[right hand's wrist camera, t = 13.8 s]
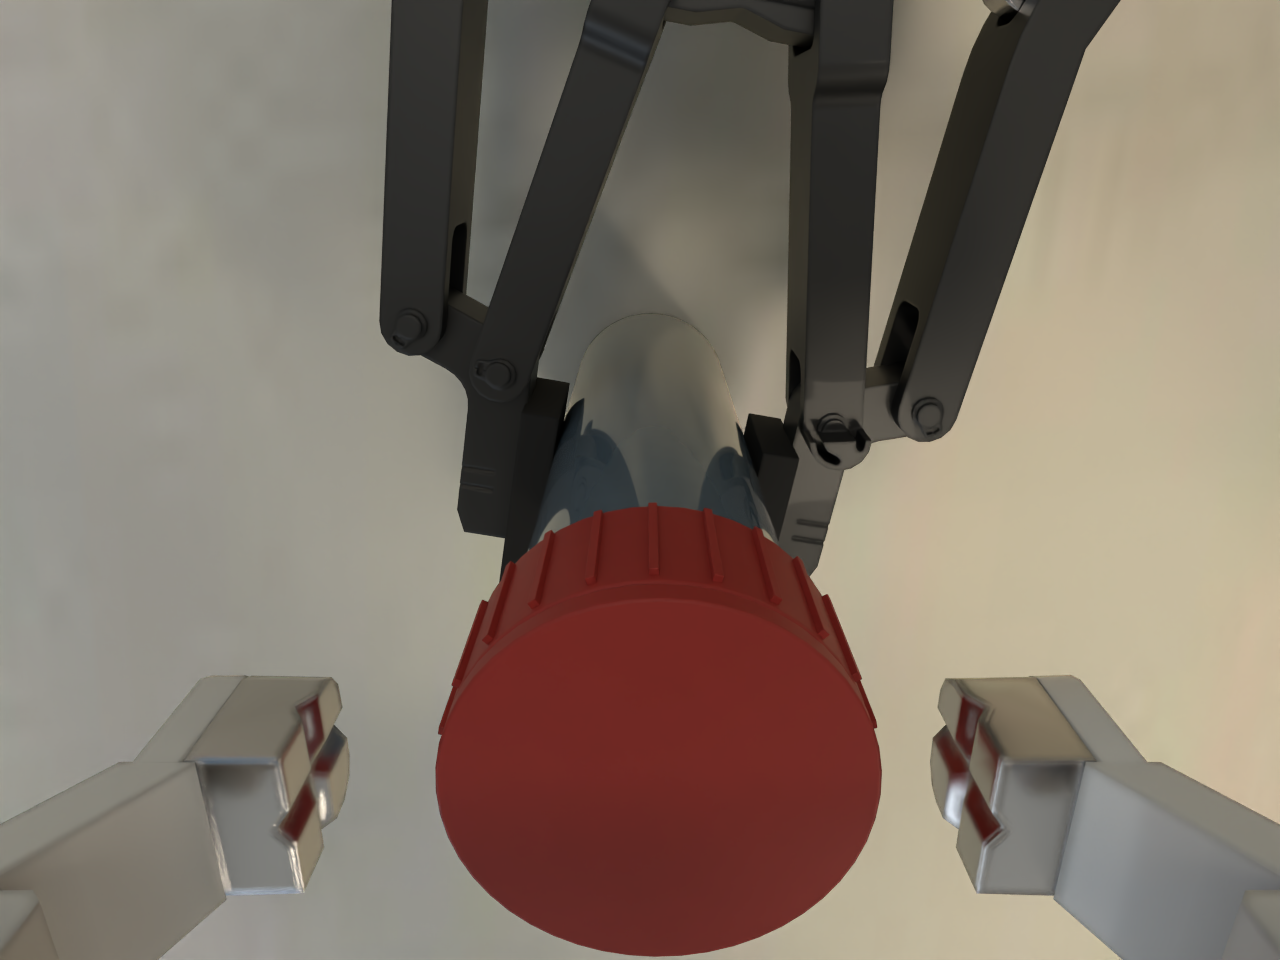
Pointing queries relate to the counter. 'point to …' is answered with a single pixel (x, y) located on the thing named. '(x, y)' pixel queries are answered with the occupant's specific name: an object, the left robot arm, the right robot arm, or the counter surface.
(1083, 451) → the counter surface
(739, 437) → the bottle
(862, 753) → the lid
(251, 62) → the counter surface
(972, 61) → the left robot arm
